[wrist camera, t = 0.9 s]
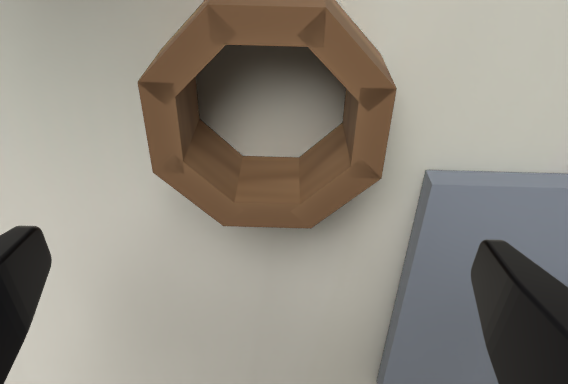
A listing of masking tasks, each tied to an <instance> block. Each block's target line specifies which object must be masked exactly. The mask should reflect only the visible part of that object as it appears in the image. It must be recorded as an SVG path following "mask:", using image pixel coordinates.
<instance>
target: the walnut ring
mask: <svg viewBox="0 0 568 384" xmlns="http://www.w3.org/2000/svg"><path fill="white" fill-rule="evenodd" d="M225 45H260V46H298V47H308V48H309V49H310V50H311V51H312V52H313V53H314V54H315V55H316V56H317V57H318V58H319V60H320V61H321V62H322V63H323V64H324V65H325V66H326V67H327V68H328V69H329V70H330V71H331V72H332V74H333V75H334V76H335V77H336V78H337V79H338V80H339V81H340V82H341V83H342V84H343V85H344V87H345V88H346V95H345V104H344V114H343V123H342V124H340V125H339V126H338V127H337V128H335V129H334V130H333V131H332V132H330V133H329V134H328V135H327V136H325V137H324V138H323V139H322V140H320V141H319V142H318V143H317V144H315V145H314V146H313V147H312V148H310V149H309V150H308V151H307V152H305V153H304V154H303V155H302V156H300V157H299V158H295V157H258V156H242V155H241V154H240V153H239V152H237V151H236V150H235V149H234V148H233V147H232V146H230V145H229V144H228V143H227V142H226V141H225V140H223V139H222V138H221V137H220V136H219V135H218V134H216V133H215V132H214V131H213V130H212V129H211V128H210V127H208V126H207V125H206V124H205V123H204V122H203V121H201V120H200V119H199V108H198V98H197V87H196V75H197V74H198V73H199V72H200V71H201V70H202V69H203V68H204V67H205V66H206V65H207V64H208V63H209V62H210V61H211V60H212V59H213V58H214V57H215V56H216V55H217V54H218V53H219V51H220V50H221V49H222V48H223V47H224V46H225ZM138 87H139V93H140V99H141V105H142V111H143V117H144V122H145V128H146V134H147V140H148V146H149V152H150V158H151V164H152V170H153V173H155V174H156V175H157V176H158V177H160V178H161V179H162V180H164V181H165V182H166V183H168V184H169V185H170V186H172V187H173V188H174V189H176V190H177V191H178V192H179V193H181V194H182V195H183V196H185V197H186V198H187V199H189V200H190V201H191V202H193V203H194V204H195V205H197V206H198V207H199V208H200V209H202V210H203V211H204V212H206V213H207V214H208V215H210V216H211V217H212V218H214V219H215V220H216V221H218V222H219V223H220V224H222V225H223V226H243V227H279V228H312V227H313V226H315V225H316V224H318V223H319V222H320V221H322V220H323V219H325V218H326V217H328V216H329V215H330V214H332V213H333V212H335V211H336V210H337V209H339V208H340V207H342V206H343V205H344V204H346V203H347V202H349V201H350V200H352V199H353V198H354V197H356V196H357V195H359V194H360V193H361V192H363V191H364V190H366V189H367V188H369V187H370V186H371V185H373V184H374V183H376V182H377V181H378V180H380V179H381V177H382V171H383V165H384V159H385V154H386V148H387V142H388V136H389V130H390V124H391V118H392V112H393V106H394V101H395V95H396V86H395V84H394V82H393V80H392V78H391V76H390V73H389V71H388V69H387V67H386V65H385V63H384V60H383V58H382V56H381V54H380V53H379V51H378V50H377V49H376V48H375V47H374V46H373V44H372V43H371V42H370V41H369V40H368V38H367V37H366V36H365V35H364V34H363V33H362V31H361V30H360V29H359V28H358V27H357V25H356V24H355V23H354V22H353V21H352V20H351V18H350V17H349V16H348V15H347V14H346V12H345V11H344V10H343V9H342V8H341V7H340V5H339V4H338V3H337V2H336V1H335V0H205V1H204V2H203V3H202V4H201V5H200V7H199V8H198V9H197V10H196V11H195V12H194V13H193V14H192V15H191V17H190V18H189V19H188V20H187V21H186V22H185V23H184V24H183V26H182V27H181V28H180V29H179V30H178V31H177V32H176V33H175V34H174V36H173V37H172V38H171V39H170V40H169V41H168V42H167V43H166V45H165V46H164V47H163V48H162V49H161V50H160V52H159V53H158V55H157V56H156V57H155V59H154V60H153V61H152V63H151V64H150V65H149V67H148V68H147V70H146V71H145V72H144V74H143V75H142V76H141V78H140V79H139V81H138Z"/></svg>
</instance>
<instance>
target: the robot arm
mask: <svg viewBox="0 0 568 384" xmlns="http://www.w3.org/2000/svg"><path fill="white" fill-rule="evenodd" d="M50 267H51V254H50V251H49V249H48V246H47V243H46V241H45V238H44V235H43V232H42V230H41V229H40V228H39V227H36V226H16V227H14V228H12V229H11V230H9V231H7V232H5V233H4V234H2V235H0V384H4V382H5V380H6V378H7V376H8V374H9V371H10V369H11V367H12V365H13V363H14V361H15V359H16V357H17V355H18V353H19V350H20V348H21V346H22V344H23V342H24V340H25V337H26V335H27V333H28V330H29V328H30V325H31V323H32V320H33V317H34V314H35V311H36V308H37V305H38V302H39V300H40V297H41V294H42V291H43V288H44V285H45V282H46V279H47V276H48V274H49V271H50ZM471 282H472V287H473V291H474V296H475V300H476V305H477V309H478V314H479V318H480V323H481V328H482V332H483V336H484V340H485V344H486V348H487V351H488V354H489V358H490V361H491V363H492V366H493V369H494V372H495V375H496V378H497V381H498V384H568V287H567V286H566V285H564V284H563V283H562V282H560V281H559V280H558V279H556V278H555V277H554V276H552V275H551V274H550V273H548V272H547V271H545V270H544V269H543V268H541V267H540V266H539V265H537V264H536V263H535V262H533V261H532V260H530V259H529V258H528V257H526V256H525V255H524V254H522V253H521V252H520V251H518V250H517V249H516V248H514V247H513V246H511V245H510V244H509V243H507V242H506V241H504V240H493V239H485V240H483V241H482V242H481V243H480V245H479V248H478V250H477V253H476V256H475V259H474V262H473V265H472V268H471Z"/></svg>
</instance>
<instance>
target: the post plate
mask: <svg viewBox="0 0 568 384" xmlns="http://www.w3.org/2000/svg"><path fill="white" fill-rule="evenodd" d="M485 239H493V240H504V241H506V242H507V243H509V244H510V245H511V246H513V247H514V248H516V249H517V250H518V251H520V252H521V253H522V254H524V255H525V256H526V257H528V258H529V259H530V260H532V261H533V262H535V263H536V264H537V265H539V266H540V267H541V268H543V269H544V270H545V271H547V272H548V273H550V274H551V275H552V276H554V277H555V278H556V279H558V280H559V281H560V282H562V283H563V284H564V285H566V286H567V287H568V174H556V173H519V172H482V171H445V170H426V172H425V176H424V180H423V185H422V189H421V193H420V197H419V202H418V206H417V210H416V215H415V219H414V223H413V227H412V232H411V236H410V240H409V245H408V249H407V253H406V257H405V262H404V266H403V270H402V275H401V279H400V283H399V287H398V292H397V296H396V300H395V305H394V309H393V313H392V317H391V322H390V326H389V330H388V335H387V339H386V343H385V347H384V352H383V356H382V360H381V365H380V369H379V373H378V377H377V384H498V381H497V378H496V375H495V372H494V369H493V366H492V363H491V361H490V358H489V354H488V351H487V348H486V344H485V340H484V336H483V332H482V328H481V323H480V318H479V314H478V309H477V305H476V300H475V296H474V291H473V287H472V282H471V268H472V265H473V262H474V259H475V256H476V253H477V250H478V248H479V245H480V243H481V242H482V241H483V240H485Z"/></svg>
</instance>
